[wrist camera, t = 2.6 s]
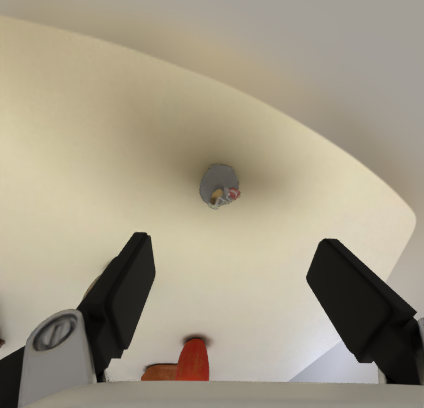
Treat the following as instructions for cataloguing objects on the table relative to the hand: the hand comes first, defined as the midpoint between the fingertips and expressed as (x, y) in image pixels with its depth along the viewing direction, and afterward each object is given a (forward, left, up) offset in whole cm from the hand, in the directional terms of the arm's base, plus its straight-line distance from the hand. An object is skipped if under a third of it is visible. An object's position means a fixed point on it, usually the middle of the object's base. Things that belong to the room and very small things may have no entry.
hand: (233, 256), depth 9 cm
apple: (-3, -35, -12) cm, 37 cm away
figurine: (0, 0, -12) cm, 12 cm away
